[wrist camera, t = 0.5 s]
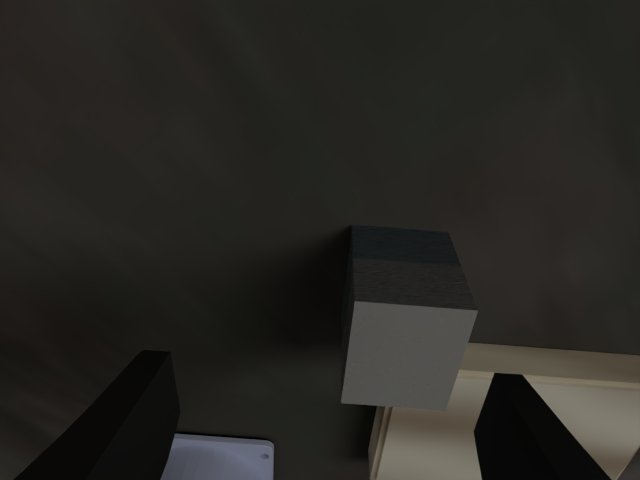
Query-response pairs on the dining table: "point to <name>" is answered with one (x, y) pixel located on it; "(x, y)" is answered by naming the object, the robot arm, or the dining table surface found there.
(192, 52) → the dining table surface
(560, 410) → the cream flat block
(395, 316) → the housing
